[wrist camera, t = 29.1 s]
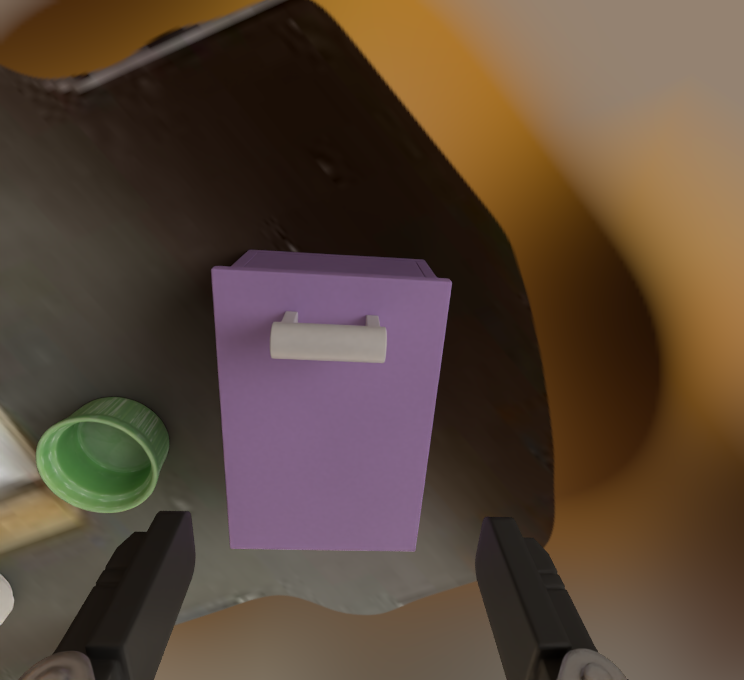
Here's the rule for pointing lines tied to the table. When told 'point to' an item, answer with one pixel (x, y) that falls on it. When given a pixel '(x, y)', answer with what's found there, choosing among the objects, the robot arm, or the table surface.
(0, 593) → the supplement can
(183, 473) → the table surface
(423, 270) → the file box
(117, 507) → the ramekin
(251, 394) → the lid
